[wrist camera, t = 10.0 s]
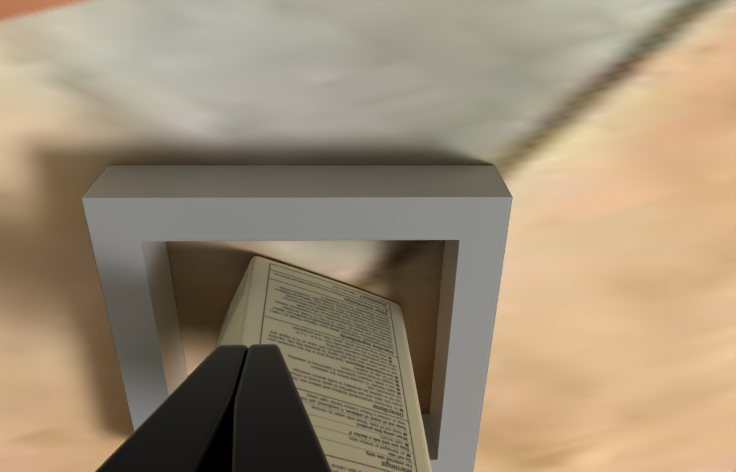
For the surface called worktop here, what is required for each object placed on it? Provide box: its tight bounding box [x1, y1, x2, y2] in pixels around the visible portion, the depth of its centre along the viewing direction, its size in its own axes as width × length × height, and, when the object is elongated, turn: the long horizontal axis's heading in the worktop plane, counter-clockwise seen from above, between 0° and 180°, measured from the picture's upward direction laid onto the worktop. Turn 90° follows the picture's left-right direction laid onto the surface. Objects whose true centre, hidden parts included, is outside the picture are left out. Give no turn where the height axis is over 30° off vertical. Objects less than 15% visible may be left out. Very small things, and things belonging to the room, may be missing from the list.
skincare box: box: [215, 256, 432, 472], centre depth 19 cm, size 6×4×12 cm
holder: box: [82, 165, 512, 472], centre depth 23 cm, size 13×13×2 cm
